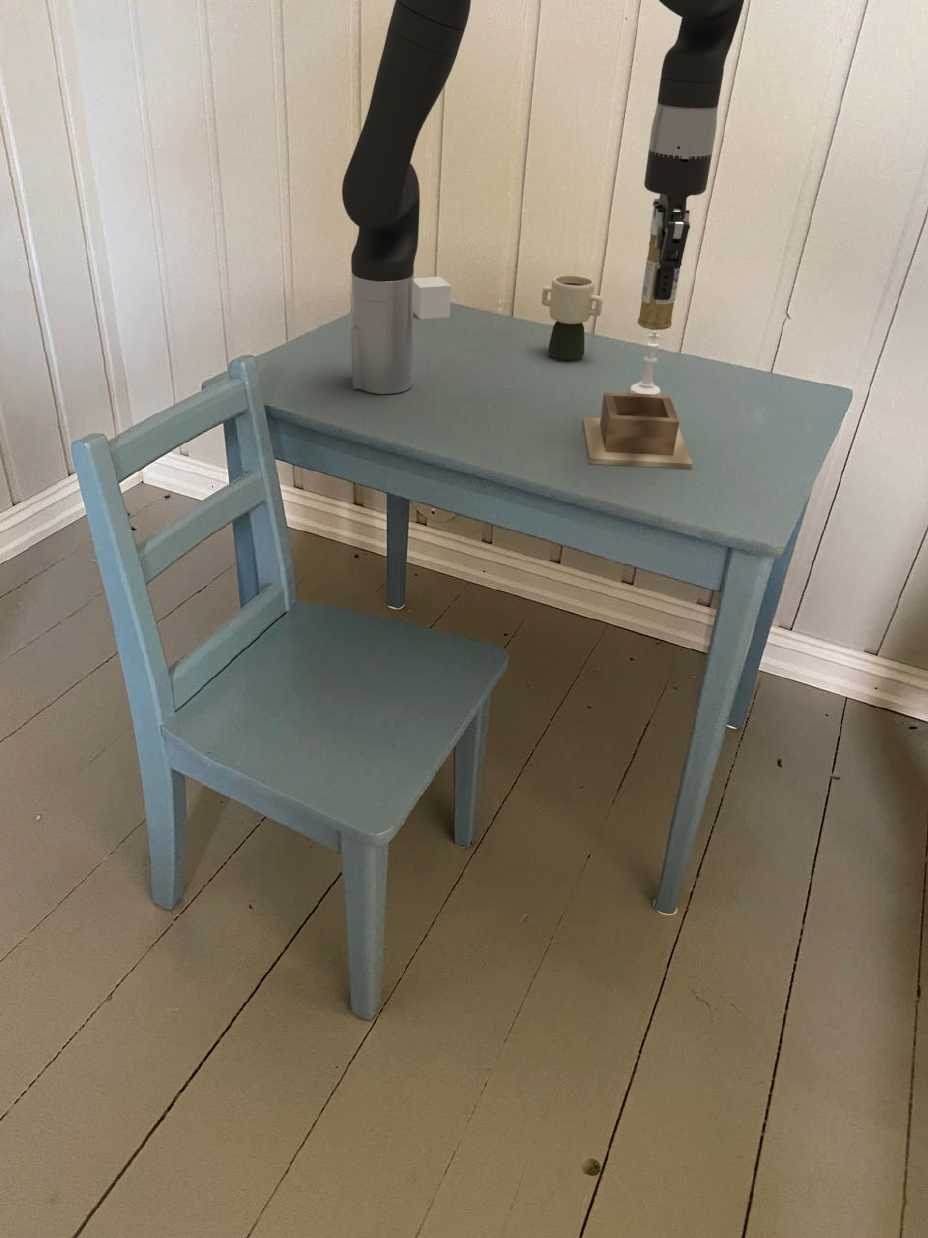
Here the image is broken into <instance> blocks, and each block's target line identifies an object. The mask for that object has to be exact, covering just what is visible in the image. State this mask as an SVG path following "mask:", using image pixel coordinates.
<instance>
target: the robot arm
mask: <svg viewBox="0 0 928 1238" xmlns="http://www.w3.org/2000/svg"><path fill="white" fill-rule="evenodd" d="M394 1H395V2H394V5H393V7H392V8H393V9H392V12H391V16H390V19H389V23H388V27H387V32H386V37H385V40H384V41H385V42H384V45H383V48H382V53H381V57H380V60H379V64H378V68H377V72H376V75H375V76H376V77H375V81H374V84H373V90H372V94H371V98H370V102H369V106H368V110H367V114H366V117H365V120H364V124H363V127H362V129H361V132H360V134H359V137H358V140H357V142H356V145H355V147H354V150H353V152H352V155H351V157H350V160H349V163H348V165H347V168H346V170H345V174H344V177H343V180H342V185H341V189H342V190H341V196H342V203H343V206H344V209H345V212H346V214H347V217H349V219H350V220H351V221H352V222H353V223H354V224H355V225H356V226H357V227H358V235H357V239H356V242H355V245H354V247H353V250H352V252H351V256H350V259H351V260H350V262H351V263H350V266H351V267H350V269H351V293H352V294H351V296H352V326H351V329H350V339H351V341H350V343H351V344H350V345H351V375H352V377H351V378H352V389H354V390H361V391H364V392H367V393H371V394H378V395H389V394H398V393H402V392H405V391H407V390H410V389H411V387H412V386H413V384H414V383H413V378H414V313H413V289H414V273H415V271H414V265H415V261H416V257H417V256H416V255H417V252H418V247H419V246H418V245H419V229H420V227H419V226H420V209H421V208H420V204H421V201H420V198H421V197H420V183H419V179H418V174H417V171H416V170H415V167H413V164H412V162H411V161H412V157H413V153H414V150H415V147H416V143H417V140H418V137H419V135H420V132H421V130H422V128H423V127H424V124H425V122H426V120H427V118H428V116H429V114H430V112H431V111H432V109H433V107H434V106H435V104H436V102H437V100H438V98H439V96H440V95H441V92H442V91H443V89H444V87H445V85H446V83H447V80H448V79H449V76H450V75H451V72H452V70H453V67H454V65H455V61H456V59H457V56H458V52H459V49H460V46H461V43H462V40H463V37H464V34H465V30H466V28H467V24H468V20H469V16H470V12H471V2H472V0H394ZM658 1H659V2H660V3H661V4H662V5H663V6H664V7H666V8H667V9H668V10H669V11H671V12H673V13H674V14H676V15H677V16H678V17H680V18H681V21H680V25H679V30H678V33H677V37H676V41H675V43H674V44H673V46H672V47H670V48H669V49H668V51H667V52H666V54H665V56H664V58H663V63H662V67H661V74H660V81H659V88H658V96H657V102H656V109H655V113H654V116H653V120H652V125H651V130H650V137H649V145H648V151H647V152H648V153H647V162H646V168H645V174H644V175H645V176H644V182H643V185H644V187H645V189H646V190H647V191H649V192H651V193H654V194H658V195H659V197H658V198H654V200H653V202H652V206H653V207H652V216H651V219H652V218H653V217H656V218H655V223H656V224H657V231H656V238H655V248H656V249H657V250H658V259H657V262H656V266H657V270H656V277H655V283H654V290H653V297H654V299H656V300H669V299H670V298H671V292H672V286H673V280H674V274H675V270H677V269H680V270H681V266H682V265H683V263H682V261H683V258H684V253H685V248H686V243H687V239H688V235H689V230H690V229H691V228H690V227H691V224H690V212H691V211H690V209H689V210H688V209H687V200H688V198H689V197H690V196H700V195H702V194H703V193H705V191H706V190H707V186H708V180H709V174H710V169H711V161H712V157H713V150H714V146H715V140H716V135H717V133H716V132H717V126H718V125H717V123H718V122H717V121H718V107H719V101H720V96H721V90H722V89H721V88H722V86H723V85H722V84H723V78H724V70H725V63H726V60H727V56H728V54H729V51H730V48H731V46H732V44H733V39H734V37H735V34H736V30H737V28H738V25H739V20H740V17H741V15H742V11H743V8H744V5H745V4H744V3H745V0H658ZM662 225H663V228H662ZM649 233H650V232H649ZM650 235H651V233H650ZM661 235H662V236H663V238H664V242H663V241H662V240H661ZM650 239H651V237H649V241H648V242H649V243H648V246H649V245H650ZM669 251H673V252H674V255H673V258H666V257H667V253H668V252H669Z"/></svg>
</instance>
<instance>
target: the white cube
mask: <svg viewBox="0 0 928 1238" xmlns="http://www.w3.org/2000/svg"><path fill="white" fill-rule="evenodd" d="M451 293H452V285H451V284H450V283H449V282H447V280H445V279H444V278H443V277H441V276H432V277H431V276H430V277H418V278H417V277H416V278H414V289H413V315H415V316H416V317H417V318H418V319H419V320H431V319H433V320H434V319H444V318H450V317H451Z"/></svg>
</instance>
